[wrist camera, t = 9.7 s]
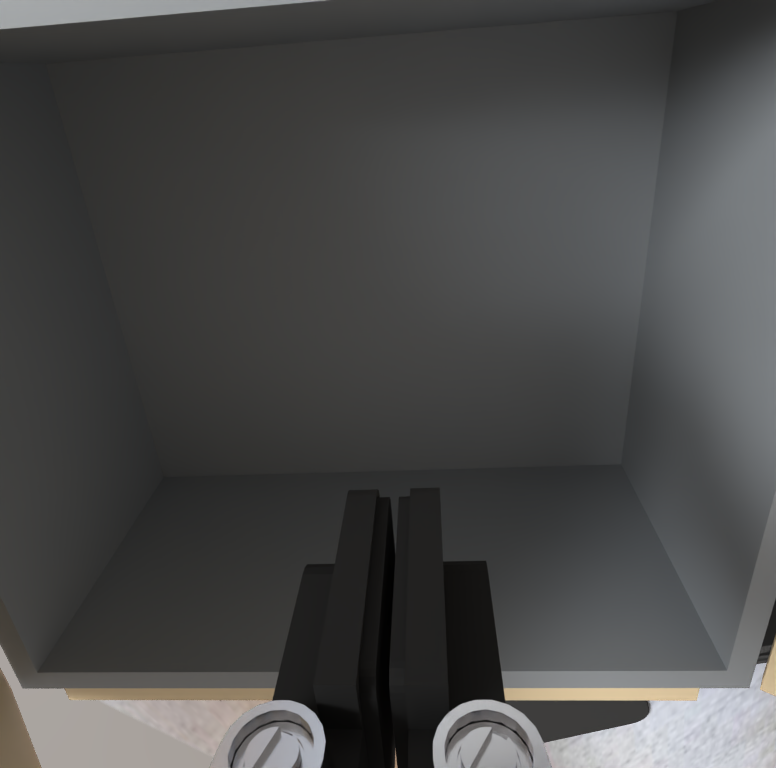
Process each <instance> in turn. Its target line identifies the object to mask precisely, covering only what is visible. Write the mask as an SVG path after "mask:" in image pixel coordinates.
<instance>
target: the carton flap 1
mask: <svg viewBox="0 0 776 768" xmlns="http://www.w3.org/2000/svg"><path fill="white" fill-rule="evenodd" d="M0 768H41V765H40V763H39V760H38V757H37V755H36V752H35V750H34V747H33V744H32V742H31V739H30V737H29V734H28V731H27V729H26V726H25V723H24V721H23V718H22V715H21V713H20V710H19V708H18V705H17V703H16V700H15V697H14V695H13V692H12V689H11V688H10V686H9V684H8V682H7V680H6V678H5V676H4V674H3V672H2V670H1V668H0Z"/></svg>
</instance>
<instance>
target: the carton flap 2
mask: <svg viewBox="0 0 776 768" xmlns="http://www.w3.org/2000/svg"><path fill="white" fill-rule="evenodd" d="M760 690H763V691H765V692H767V693H770V694H772V695H774V696H776V635H775V638H774V642H773V645H772V648H771V651H770V655H769V658H768V661H767V664H766V668H765V671H764V674H763V678H762V683H761V688H760Z"/></svg>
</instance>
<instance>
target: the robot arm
mask: <svg viewBox="0 0 776 768" xmlns="http://www.w3.org/2000/svg"><path fill="white" fill-rule="evenodd" d="M395 747H396V757H397V766H398V768H552V766H551V763H550V760H549V757H548V754H547V751H546V748H545V745H544V742H543V740H542V738H541V736H540V734H539V733H538V731H537V729H536V727H535V726H534V725H533V723H532V722H531V721H530V720H529V719H528V718H527V717H526V716H525V715H524V714H523V713H521V712H520V711H518V710H517V709H515V708H513V707H512V706H510V705H508V704H506V703H505V695H504V687H503V680H502V672H501V665H500V657H499V650H498V642H497V635H496V627H495V620H494V612H493V605H492V597H491V590H490V582H489V575H488V568H487V563H486V561H443V550H442V527H441V504H440V487H439V488H411V489H410V496H406V497H399V503H398V520H397V538H396V554H395V543H394V531H393V520H392V509H391V499H390V497H380V494H379V490H378V489H372V490H349V491H348V494H347V499H346V505H345V510H344V516H343V521H342V527H341V532H340V538H339V544H338V549H337V555H336V560H335V564H307V565H306V567H305V568H304V572H303V575H302V579H301V583H300V587H299V591H298V595H297V600H296V604H295V608H294V612H293V616H292V620H291V624H290V629H289V633H288V637H287V641H286V645H285V649H284V653H283V658H282V662H281V666H280V670H279V674H278V678H277V683H276V687H275V691H274V695H273V699H272V701H270V702H267V703H263V704H260V705H257V706H256V707H254V708H252V709H251V710H249V711H247V712H245V713H244V714H243V715H241V716H240V717H239V718H238V719H237V720H236V721H235V722H234V723H233V724H232V725H231V726H230V728H229V729H228V731H227V733H226V734H225V736H224V737H223V739H222V741H221V742H220V745H219V747H218V749H217V751H216V753H215V756H214V758H213V760H212V762H211V764H210V767H209V768H395Z"/></svg>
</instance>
